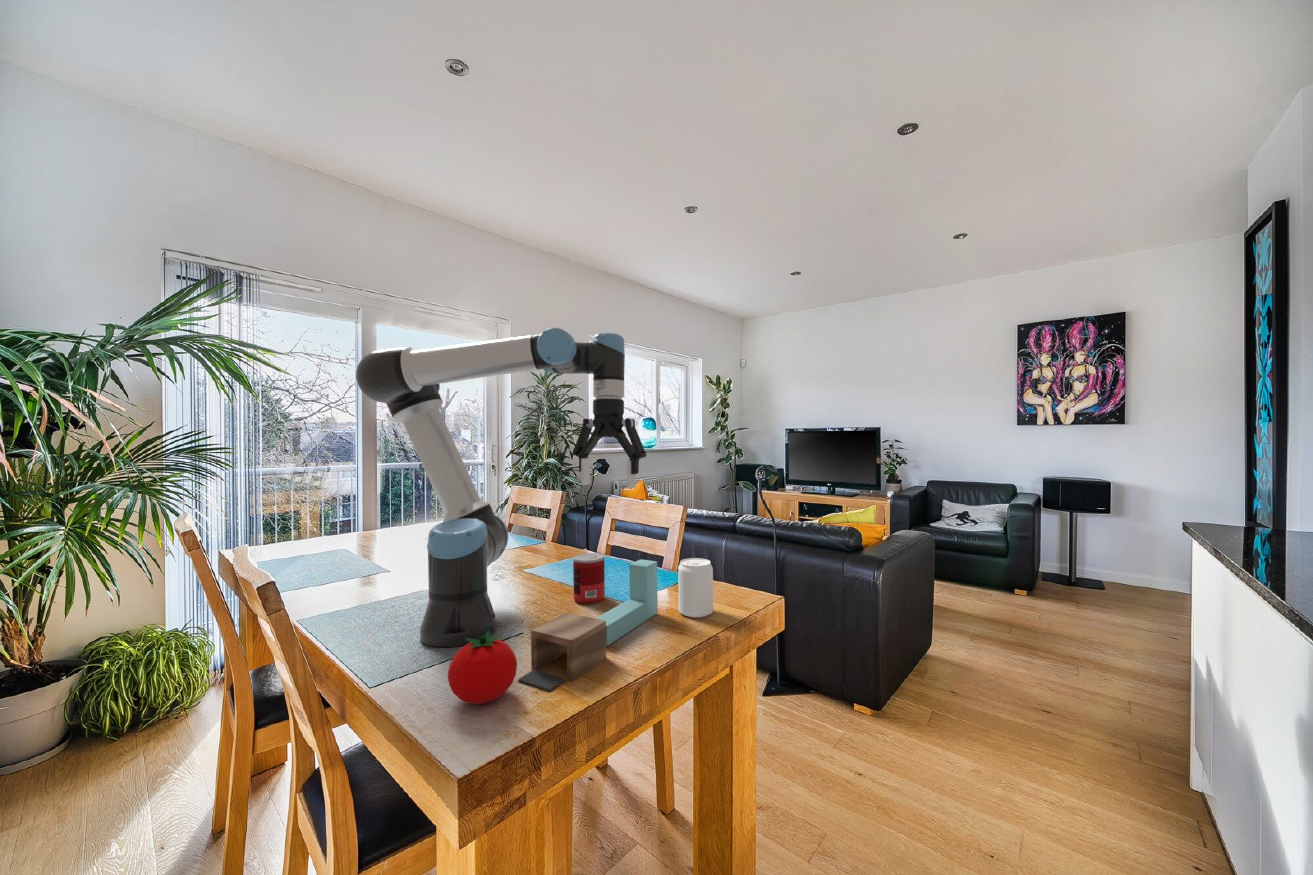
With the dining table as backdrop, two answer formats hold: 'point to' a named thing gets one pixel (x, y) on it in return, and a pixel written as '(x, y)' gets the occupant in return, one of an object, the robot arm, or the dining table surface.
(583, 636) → the tunnel
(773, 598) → the dining table surface
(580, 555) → the canned food
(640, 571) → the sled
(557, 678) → the pad
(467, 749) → the dining table surface
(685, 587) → the beverage can
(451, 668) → the tomato
